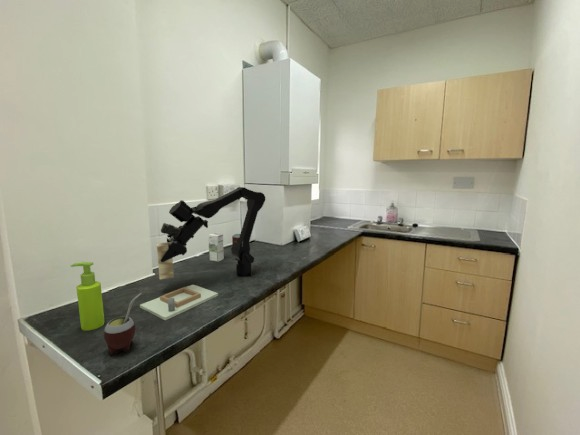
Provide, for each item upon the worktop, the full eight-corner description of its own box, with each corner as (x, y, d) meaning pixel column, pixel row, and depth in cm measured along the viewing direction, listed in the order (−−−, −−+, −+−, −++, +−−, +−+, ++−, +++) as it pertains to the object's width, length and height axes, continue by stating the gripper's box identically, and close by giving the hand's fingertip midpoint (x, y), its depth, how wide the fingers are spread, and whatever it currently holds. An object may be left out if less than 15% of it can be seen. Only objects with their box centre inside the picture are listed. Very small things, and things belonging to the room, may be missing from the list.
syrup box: (224, 258, 151) (223, 233, 149) (218, 262, 146) (217, 235, 144) (215, 257, 153) (214, 232, 151) (208, 260, 148) (207, 234, 145)
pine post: (172, 273, 112) (170, 242, 110) (173, 277, 108) (171, 245, 105) (159, 275, 110) (156, 243, 108) (159, 279, 105) (157, 246, 103)
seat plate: (193, 286, 114) (192, 275, 114) (218, 295, 106) (217, 283, 105) (140, 307, 96) (138, 294, 95) (165, 320, 88) (164, 305, 87)
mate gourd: (99, 353, 72) (94, 299, 70) (128, 337, 79) (123, 287, 77) (118, 361, 69) (113, 305, 67) (146, 343, 76) (142, 292, 74)
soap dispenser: (85, 320, 87) (78, 260, 84) (108, 319, 88) (102, 259, 85) (72, 331, 82) (64, 266, 78) (97, 330, 82) (90, 266, 79)
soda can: (231, 257, 155) (230, 235, 153) (234, 253, 162) (234, 233, 160) (243, 257, 154) (243, 236, 152) (246, 254, 161) (246, 233, 159)
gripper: (171, 212, 115) (143, 241, 112) (175, 219, 98) (142, 253, 95) (192, 229, 119) (166, 257, 116) (199, 238, 103) (169, 271, 100)
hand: (161, 259), depth 107 cm, fingers closed on pine post, 5 cm apart
